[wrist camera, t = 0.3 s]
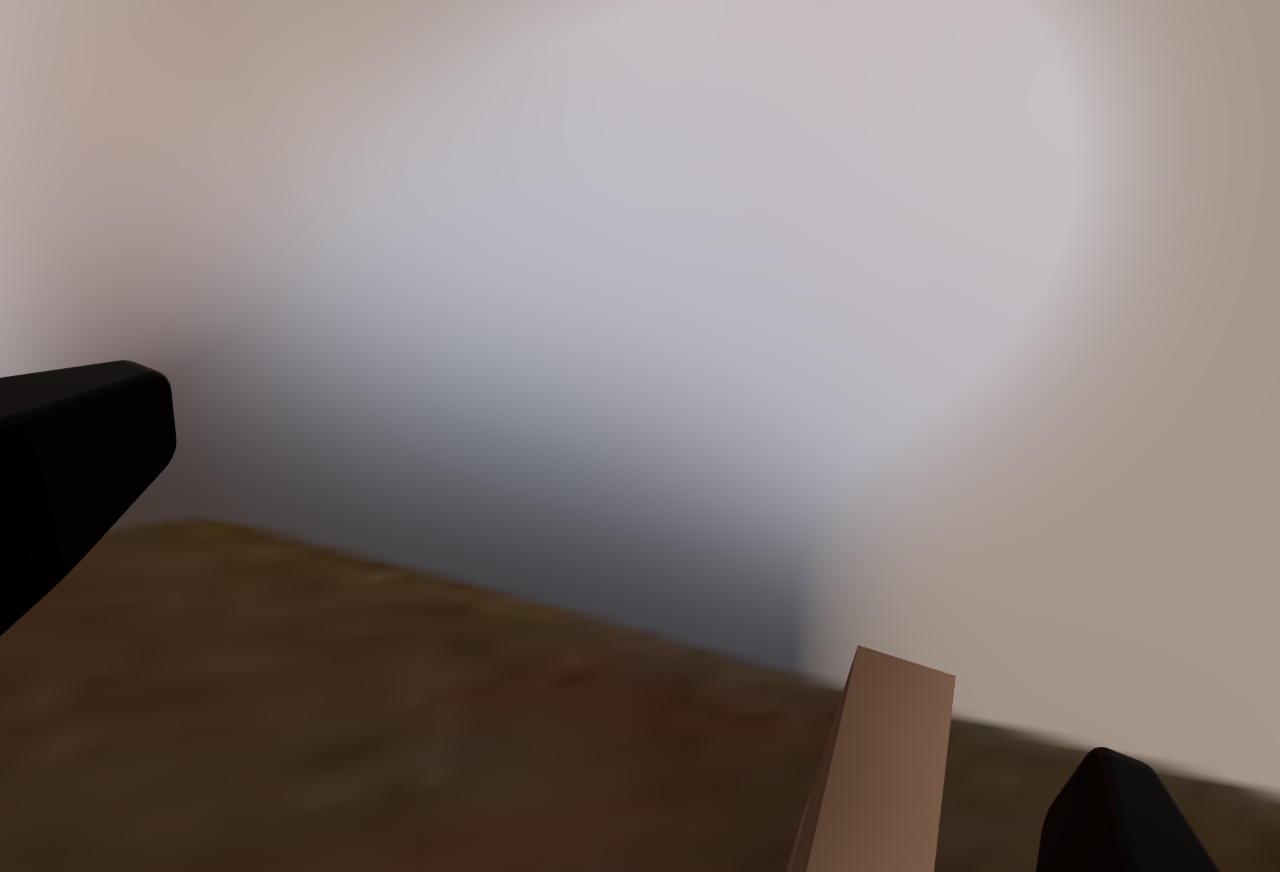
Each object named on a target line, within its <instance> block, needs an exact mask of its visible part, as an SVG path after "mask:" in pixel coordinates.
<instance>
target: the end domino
mask: <svg viewBox="0 0 1280 872" xmlns="http://www.w3.org/2000/svg"><path fill="white" fill-rule="evenodd" d="M954 685H955V676H954V675H950V674H947V673H944V672H941V671H938V670H935V669H931V668H928V667H925V666H922V665H919V664H916V663H913V662H909V661H906V660H903V659H900V658H897V657H894V656H890V655H887V654H884V653H881V652H877V651H875V650H871V649H868V648H865V647H862V646H858V647H857V650H856V653H855V656H854V660H853V663H852V666H851V669H850V672H849V675H848V678H847V681H846V684H845V687H844V691H843V694H842V697H841V700H840V703H839V706H838V709H837V712H836V716H835V719H834V722H833V725H832V728H831V731H830V734H829V737H828V740H827V744H826V747H825V750H824V753H823V756H822V759H821V762H820V765H819V769H818V772H817V775H816V778H815V781H814V784H813V787H812V790H811V793H810V797H809V800H808V803H807V806H806V809H805V812H804V815H803V818H802V822H801V825H800V828H799V831H798V834H797V837H796V840H795V843H794V846H793V850H792V853H791V856H790V859H789V862H788V865H787V868H786V871H785V872H934V865H935V856H936V847H937V838H938V829H939V820H940V811H941V802H942V793H943V784H944V775H945V766H946V757H947V748H948V739H949V730H950V722H951V713H952V704H953V694H954Z"/></svg>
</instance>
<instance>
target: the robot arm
mask: <svg viewBox="0 0 1280 872" xmlns="http://www.w3.org/2000/svg"><path fill="white" fill-rule="evenodd" d="M175 449H176V430H175V421H174V412H173V402H172V392H171V386H170V383H169V381H168V380H167V378H166V377H165V376H164V375H163V374H162V373H160V372H158V371H156V370H153V369H151V368H148V367H146V366H143V365H140V364H138V363H136V362H131V361H126V360H121V361H113V362H106V363H99V364H92V365H85V366H79V367H72V368H64V369H57V370H50V371H45V372H37V373H30V374H23V375H16V376H10V377H3V378H0V636H1V635H2V634H3V633H4V632H5V631H7V630H8V629H9V628H10V627H11V626H12V625H13V624H14V623H15V622H17V621H18V620H19V619H20V618H21V617H22V616H23V615H24V614H25V613H26V612H28V611H29V610H30V609H31V608H32V607H33V606H34V605H35V604H36V603H38V602H39V601H40V600H41V599H42V598H43V597H44V596H45V595H46V594H47V593H48V592H50V591H51V590H52V589H53V588H54V587H55V586H56V585H57V584H58V583H59V582H60V581H61V580H62V579H63V578H64V577H65V576H66V575H67V574H68V573H69V572H70V571H71V570H72V569H73V568H74V567H75V566H76V565H77V564H78V563H79V562H80V561H81V560H82V559H83V558H84V557H85V555H86V554H87V553H88V552H89V551H90V550H91V549H92V548H93V547H94V546H95V544H96V543H97V542H98V541H99V540H100V539H101V538H102V537H103V536H104V535H105V533H106V532H107V531H108V530H109V529H110V528H111V527H112V526H113V525H114V524H115V523H116V521H117V520H118V519H119V518H120V517H121V516H122V515H123V514H124V513H125V512H126V510H127V509H128V508H129V507H130V506H131V505H132V504H133V503H134V502H135V501H136V499H137V498H138V497H139V496H140V495H141V494H142V493H143V492H144V491H145V490H146V488H147V487H148V486H149V485H150V484H151V483H152V482H153V481H154V480H155V479H156V478H157V476H158V475H159V474H160V473H161V472H162V471H163V470H164V469H165V468H166V466H167V465H168V464H169V462H170V461H171V459H172V457H173V455H174V452H175ZM1036 872H1220V871H1219V869H1218V868H1217V866H1216V865H1215V863H1214V862H1213V860H1212V859H1211V857H1210V856H1209V854H1208V852H1207V851H1206V849H1205V848H1204V846H1203V845H1202V843H1201V842H1200V840H1199V839H1198V837H1197V836H1196V834H1195V832H1194V831H1193V829H1192V828H1191V826H1190V825H1189V823H1188V822H1187V820H1186V819H1185V817H1184V815H1183V814H1182V812H1181V811H1180V809H1179V808H1178V806H1177V805H1176V803H1175V802H1174V800H1173V799H1172V797H1171V795H1170V794H1169V792H1168V791H1167V789H1166V788H1165V786H1164V785H1163V783H1162V782H1161V780H1160V778H1159V777H1158V775H1157V774H1156V773H1155V772H1154V770H1153V769H1152V768H1151V767H1150V766H1148V765H1147V764H1145V763H1143V762H1141V761H1139V760H1136V759H1134V758H1131V757H1129V756H1126V755H1124V754H1121V753H1119V752H1116V751H1113V750H1111V749H1108V748H1105V747H1097V748H1094V749H1093V750H1091V751H1090V752H1089V753H1088V754H1087V755H1086V756H1085V757H1084V759H1083V760H1082V761H1081V763H1080V764H1079V766H1078V767H1077V768H1076V770H1075V771H1074V773H1073V774H1072V775H1071V777H1070V778H1069V779H1068V781H1067V782H1066V784H1065V785H1064V786H1063V788H1062V789H1061V791H1060V792H1059V793H1058V795H1057V796H1056V798H1055V799H1054V800H1053V802H1052V803H1051V805H1050V807H1049V809H1048V811H1047V813H1046V816H1045V819H1044V822H1043V826H1042V830H1041V836H1040V844H1039V851H1038V858H1037V865H1036Z"/></svg>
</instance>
